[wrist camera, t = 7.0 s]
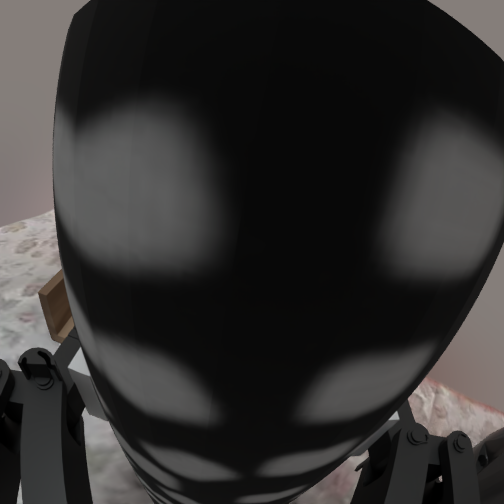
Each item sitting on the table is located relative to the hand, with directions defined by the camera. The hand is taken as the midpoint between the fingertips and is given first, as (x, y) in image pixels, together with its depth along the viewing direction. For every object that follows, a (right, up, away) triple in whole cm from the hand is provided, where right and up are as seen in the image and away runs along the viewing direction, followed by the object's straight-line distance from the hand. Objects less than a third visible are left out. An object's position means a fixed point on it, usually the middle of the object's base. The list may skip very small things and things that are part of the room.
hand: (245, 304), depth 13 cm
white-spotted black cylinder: (-2, -12, +1) cm, 12 cm away
